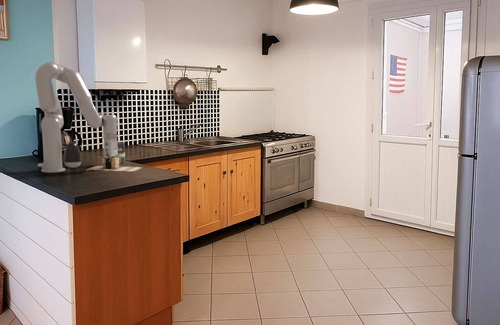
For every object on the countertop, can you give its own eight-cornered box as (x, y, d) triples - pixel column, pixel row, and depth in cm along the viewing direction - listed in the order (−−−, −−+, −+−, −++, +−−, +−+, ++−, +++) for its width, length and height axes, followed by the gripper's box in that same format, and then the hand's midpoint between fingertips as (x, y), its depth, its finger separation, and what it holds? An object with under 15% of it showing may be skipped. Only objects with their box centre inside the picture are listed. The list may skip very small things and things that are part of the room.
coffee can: (125, 166, 275) (124, 143, 273) (107, 166, 272) (107, 143, 270) (125, 164, 285) (124, 141, 283) (108, 164, 282) (107, 142, 280)
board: (86, 171, 253) (86, 169, 253) (97, 167, 268) (97, 165, 268) (134, 173, 250) (133, 171, 250) (143, 169, 265) (143, 167, 265)
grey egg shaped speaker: (63, 166, 271) (62, 141, 269) (81, 165, 274) (81, 140, 272) (62, 168, 261) (61, 142, 259) (81, 168, 265) (81, 142, 263)
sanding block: (102, 168, 257) (101, 158, 256) (106, 167, 262) (105, 157, 261) (115, 169, 256) (115, 158, 255) (119, 167, 261) (118, 157, 260)
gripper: (110, 138, 248) (110, 170, 250) (122, 135, 265) (122, 166, 267) (97, 137, 249) (97, 169, 251) (110, 135, 265) (110, 165, 268)
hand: (110, 167), depth 259 cm, fingers closed on sanding block, 5 cm apart
